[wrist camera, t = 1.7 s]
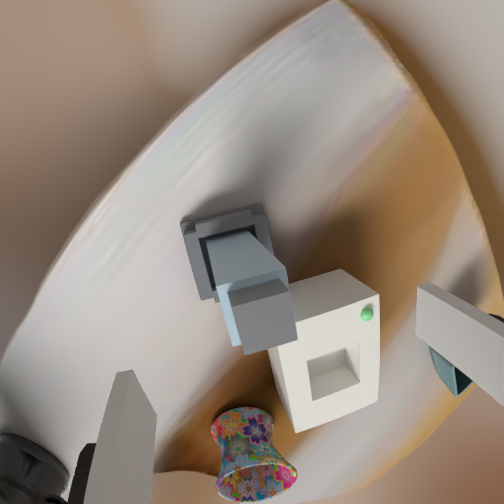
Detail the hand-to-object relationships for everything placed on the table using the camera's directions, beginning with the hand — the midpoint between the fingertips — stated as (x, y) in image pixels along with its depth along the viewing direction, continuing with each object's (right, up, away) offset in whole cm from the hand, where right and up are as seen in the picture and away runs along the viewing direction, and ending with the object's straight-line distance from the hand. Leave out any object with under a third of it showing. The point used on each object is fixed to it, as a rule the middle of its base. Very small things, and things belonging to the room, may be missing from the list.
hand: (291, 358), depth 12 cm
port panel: (+5, -5, +22) cm, 23 cm away
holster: (-4, +4, +18) cm, 19 cm away
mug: (-3, -20, +25) cm, 32 cm away
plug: (-4, +4, +18) cm, 19 cm away
